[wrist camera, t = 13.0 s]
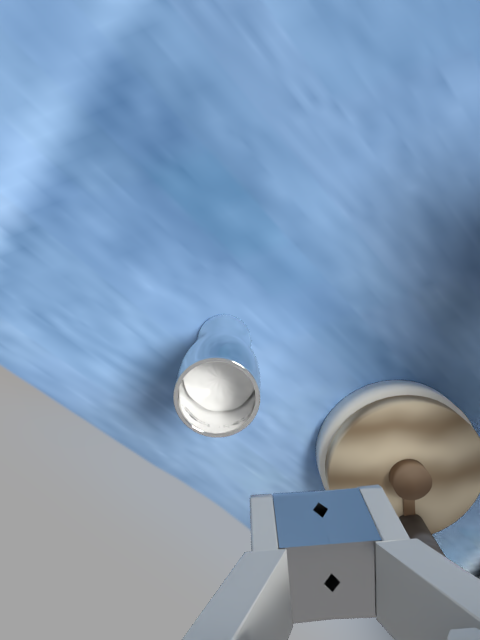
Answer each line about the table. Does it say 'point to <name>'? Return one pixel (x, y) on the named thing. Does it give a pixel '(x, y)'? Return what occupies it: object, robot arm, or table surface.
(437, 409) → the tan disc with handle
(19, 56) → the table surface
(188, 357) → the beer glass
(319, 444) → the stand
